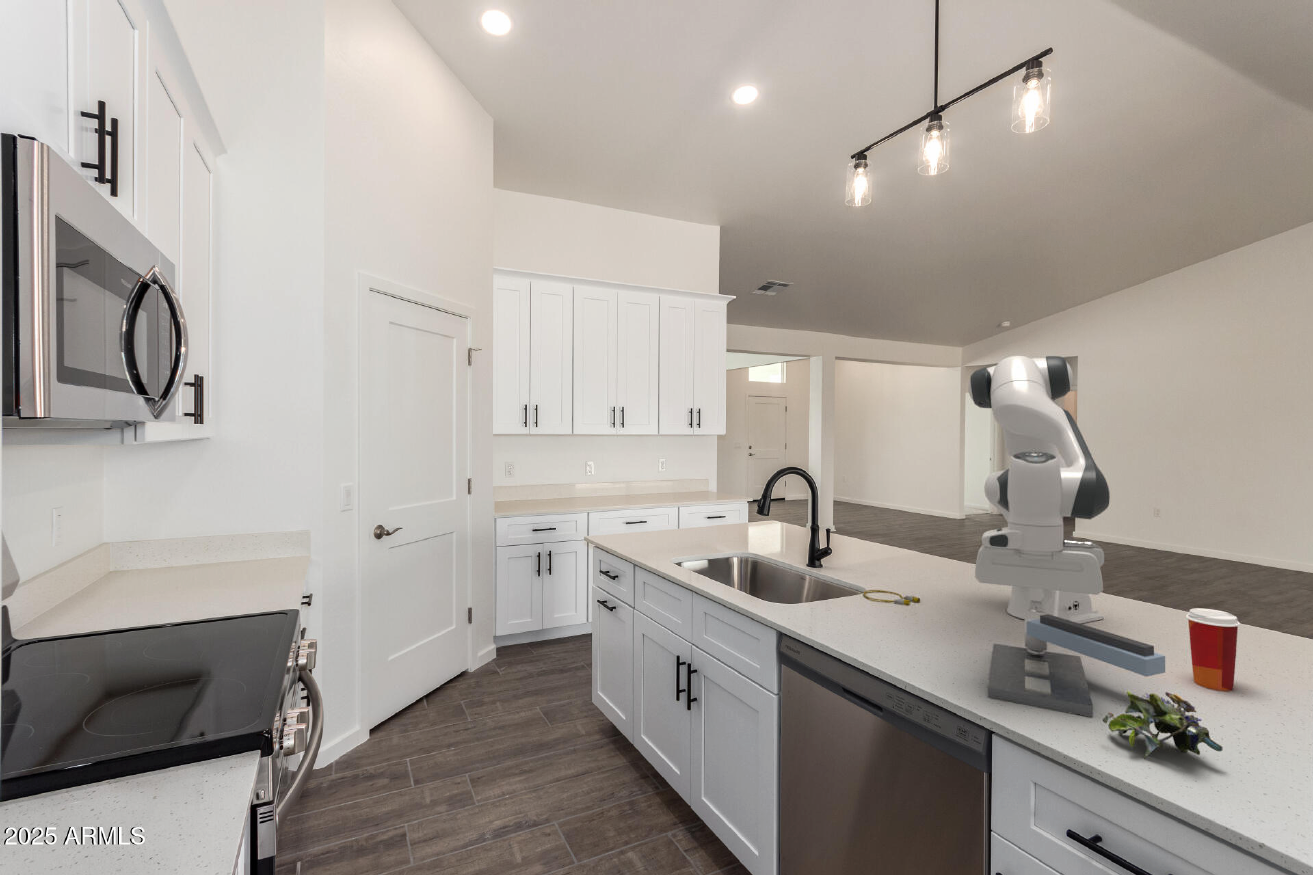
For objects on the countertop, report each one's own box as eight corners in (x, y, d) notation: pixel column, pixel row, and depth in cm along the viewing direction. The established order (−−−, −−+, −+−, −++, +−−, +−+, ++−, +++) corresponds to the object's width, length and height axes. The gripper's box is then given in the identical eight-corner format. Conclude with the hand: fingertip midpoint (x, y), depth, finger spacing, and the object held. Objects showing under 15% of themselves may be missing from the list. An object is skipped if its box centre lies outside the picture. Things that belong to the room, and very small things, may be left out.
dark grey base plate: (993, 652, 133) (993, 638, 133) (1080, 665, 125) (1080, 650, 125) (987, 697, 111) (987, 680, 111) (1092, 717, 103) (1092, 699, 103)
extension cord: (888, 609, 167) (888, 602, 167) (855, 595, 183) (855, 588, 183) (924, 605, 171) (924, 598, 171) (888, 591, 186) (888, 585, 186)
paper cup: (1226, 679, 117) (1225, 609, 117) (1250, 695, 110) (1249, 621, 110) (1177, 674, 120) (1177, 605, 120) (1198, 690, 112) (1197, 617, 112)
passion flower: (1180, 785, 92) (1243, 741, 86) (1139, 789, 88) (1203, 744, 82) (1118, 717, 101) (1172, 674, 95) (1079, 718, 97) (1132, 673, 91)
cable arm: (1018, 645, 128) (1018, 610, 128) (1035, 642, 129) (1035, 608, 129) (1146, 693, 104) (1146, 650, 104) (1165, 689, 106) (1165, 646, 106)
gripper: (1102, 539, 108) (1103, 614, 108) (975, 531, 119) (976, 599, 119) (1106, 545, 103) (1107, 624, 103) (973, 536, 114) (974, 608, 114)
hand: (1036, 611), depth 111 cm, fingers closed
